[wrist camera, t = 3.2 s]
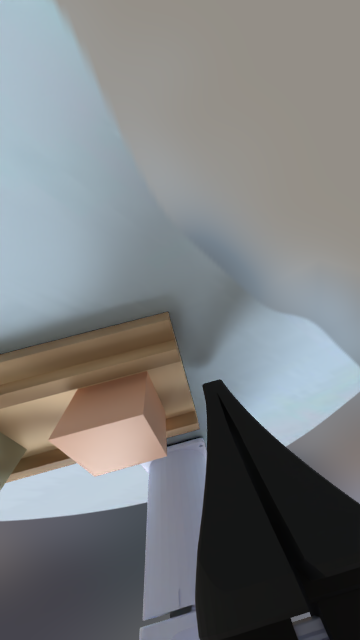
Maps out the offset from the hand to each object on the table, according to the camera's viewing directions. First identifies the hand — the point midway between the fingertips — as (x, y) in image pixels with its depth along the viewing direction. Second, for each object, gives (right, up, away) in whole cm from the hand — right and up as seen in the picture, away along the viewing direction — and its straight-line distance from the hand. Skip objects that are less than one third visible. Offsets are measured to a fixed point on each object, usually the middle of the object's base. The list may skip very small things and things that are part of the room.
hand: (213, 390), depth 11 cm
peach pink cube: (-7, -1, +1) cm, 7 cm away
